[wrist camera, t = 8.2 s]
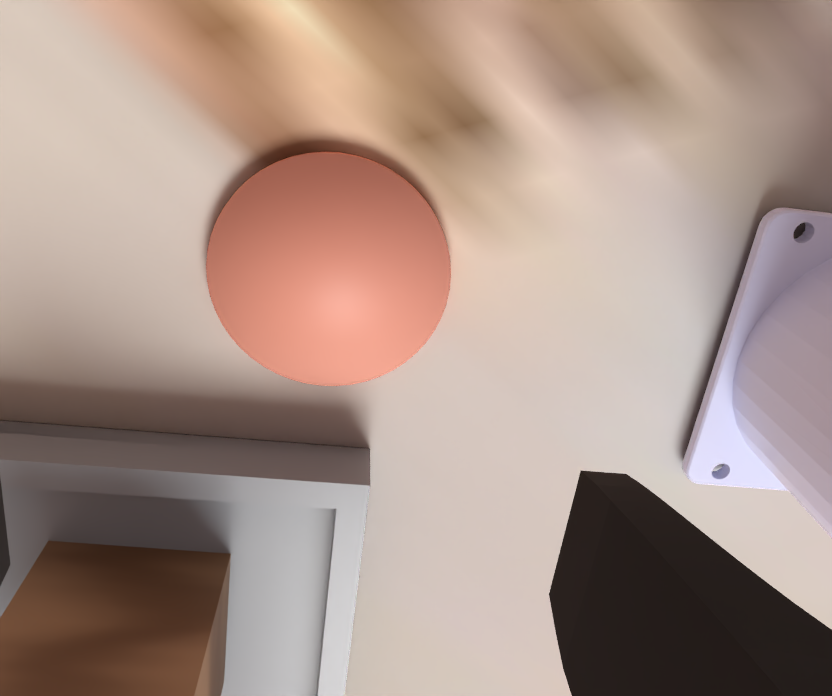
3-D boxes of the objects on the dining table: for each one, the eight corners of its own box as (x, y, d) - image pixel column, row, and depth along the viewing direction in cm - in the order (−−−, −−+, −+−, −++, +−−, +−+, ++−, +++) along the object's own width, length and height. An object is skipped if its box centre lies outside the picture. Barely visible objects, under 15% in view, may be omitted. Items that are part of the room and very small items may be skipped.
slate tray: (369, 448, 20) (369, 485, 19) (334, 745, 25) (332, 795, 23) (-86, 413, 19) (-129, 450, 17) (-33, 734, 24) (-63, 786, 22)
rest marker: (466, 167, 17) (467, 169, 17) (432, 389, 20) (433, 394, 19) (210, 136, 17) (208, 138, 16) (207, 370, 19) (205, 375, 19)
